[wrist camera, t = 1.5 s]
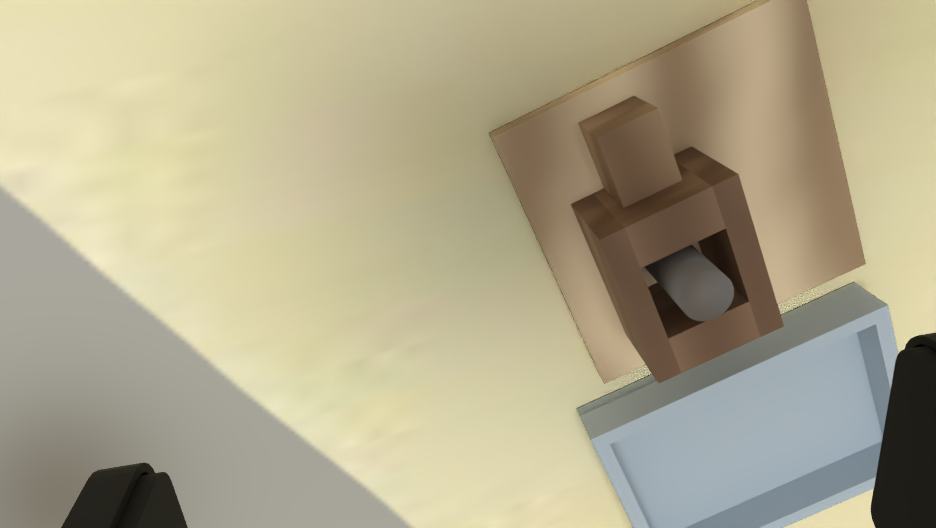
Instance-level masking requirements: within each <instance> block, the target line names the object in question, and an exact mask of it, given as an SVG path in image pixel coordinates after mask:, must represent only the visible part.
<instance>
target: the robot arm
mask: <svg viewBox="0 0 936 528" xmlns="http://www.w3.org/2000/svg"><path fill="white" fill-rule="evenodd" d="M871 515H872V519H873V522H874V525H875V527H876V528H936V333H931V334H925V335H919V336H916V337H913V338H911V339H910V340H909V341H908V343H907V344H906V347H905V350H902V351H900V353H899V354H898V355H897V358H896V361H895V367H894V373H893V379H892V385H891V390H890V396H889V402H888V408H887V414H886V420H885V426H884V432H883V438H882V444H881V450H880V455H879V461H878V467H877V473H876V479H875V485H874V491H873V497H872V503H871ZM61 528H187V525H186V522H185V519H184V516H183V513H182V510H181V507H180V505H179V502H178V499H177V496H176V493H175V490H174V487H173V485H172V482H171V479H170V477H169V476H168V474H167V473H165V472H160V473H155V472H154V470H153V468H152V467H151V466H150V465H149V464H147V463H139V464H133V465H127V466H121V467H114V468H108V469H102V470H98V471H96V472H94V473H92V475H91V476H90V477H89V479H88V480H87V482H86V484H85V486H84V488H83V489H82V491H81V493H80V495H79V497H78V498H77V500H76V502H75V504H74V506H73V507H72V509H71V511H70V513H69V515H68V517H67V518H66V520H65V522H64V524H63V526H62V527H61Z"/></svg>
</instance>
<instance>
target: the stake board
mask: <svg viewBox="0 0 936 528" xmlns="http://www.w3.org/2000/svg"><path fill="white" fill-rule="evenodd" d="M632 96H636V97H638V98H640V99H642V100H643V101H645V102H647V103H649V104H651V105H653V106H655V107H657V108H658V110H659V113H660V116H661V118H662V121H663V124H664V127H665V130H666V133H667V136H668V139H669V142H670V145H671V148H672V151H673V154H676V153H678V152H680V151H683V150H685V149H687V148H689V147H691V146H692V147H694V148H695V149H697V150H699V151H701V152H702V153H704V154H706V155H707V156H709V157H711V158H712V159H714V160H716V161H717V162H719V163H721V164H723V165H724V166H726V167H728V168H729V169H731V170H733V171H734V172H736V173H738V174H739V177H740V181H741V184H742V187H743V191H744V194H745V197H746V201H747V204H748V207H749V211H750V214H751V217H752V221H753V224H754V227H755V231H756V234H757V238H758V241H759V244H760V248H761V251H762V254H763V258H764V261H765V264H766V268H767V271H768V274H769V278H770V281H771V284H772V288H773V291H774V295H775V298H776V301H777V304H779V303H781V302H783V301H786V300H788V299H790V298H792V297H794V296H797V295H799V294H801V293H803V292H805V291H807V290H810V289H812V288H814V287H816V286H818V285H821V284H823V283H825V282H827V281H829V280H831V279H834V278H836V277H838V276H840V275H842V274H844V273H847V272H849V271H851V270H853V269H855V268H858V267H860V266H862V265H864V264H866V263H865V259H864V254H863V250H862V245H861V241H860V236H859V232H858V227H857V223H856V219H855V214H854V210H853V205H852V201H851V196H850V192H849V187H848V183H847V178H846V174H845V169H844V165H843V161H842V156H841V152H840V147H839V143H838V138H837V134H836V129H835V125H834V120H833V116H832V112H831V107H830V103H829V98H828V94H827V89H826V85H825V80H824V76H823V71H822V67H821V63H820V58H819V54H818V49H817V45H816V40H815V36H814V31H813V27H812V22H811V18H810V14H809V9H808V5H807V0H758V1H756V2H754V3H752V4H750V5H748V6H746V7H744V8H742V9H740V10H738V11H736V12H734V13H732V14H730V15H728V16H726V17H724V18H722V19H720V20H718V21H716V22H714V23H712V24H709V25H707V26H705V27H703V28H701V29H699V30H697V31H695V32H693V33H691V34H689V35H687V36H685V37H683V38H681V39H679V40H677V41H675V42H673V43H671V44H669V45H667V46H665V47H663V48H661V49H659V50H657V51H655V52H653V53H651V54H649V55H646V56H644V57H642V58H640V59H638V60H636V61H634V62H632V63H630V64H628V65H626V66H624V67H622V68H620V69H618V70H616V71H614V72H612V73H610V74H608V75H606V76H604V77H602V78H600V79H598V80H596V81H594V82H592V83H590V84H588V85H586V86H583V87H581V88H579V89H577V90H575V91H573V92H571V93H569V94H567V95H565V96H563V97H561V98H559V99H557V100H555V101H553V102H551V103H549V104H547V105H545V106H543V107H541V108H539V109H537V110H535V111H533V112H531V113H529V114H527V115H525V116H523V117H520V118H518V119H516V120H514V121H512V122H510V123H508V124H506V125H504V126H502V127H500V128H498V129H496V130H494V131H492V132H490V133H489V134H490V136H491V139H492V141H493V143H494V145H495V147H496V150H497V152H498V154H499V156H500V158H501V160H502V163H503V165H504V167H505V169H506V171H507V174H508V176H509V178H510V180H511V182H512V184H513V187H514V189H515V191H516V193H517V195H518V198H519V200H520V202H521V204H522V206H523V209H524V211H525V213H526V215H527V217H528V219H529V222H530V224H531V226H532V228H533V230H534V233H535V235H536V237H537V239H538V241H539V243H540V246H541V248H542V250H543V252H544V254H545V257H546V259H547V261H548V263H549V265H550V267H551V270H552V272H553V274H554V276H555V278H556V281H557V283H558V285H559V287H560V289H561V291H562V294H563V296H564V298H565V300H566V302H567V305H568V307H569V309H570V311H571V313H572V316H573V318H574V320H575V322H576V324H577V326H578V329H579V331H580V333H581V335H582V337H583V340H584V342H585V344H586V346H587V348H588V350H589V353H590V355H591V357H592V359H593V361H594V364H595V366H596V368H597V370H598V372H599V374H600V376H601V378H602V380H603V382H604V384H605V383H607V382H609V381H611V380H614V379H616V378H618V377H620V376H622V375H624V374H627V373H629V372H631V371H633V370H635V369H637V368H640V367H642V366H644V365H646V364H645V362H644V361H643V359H642V358H641V356H640V355H639V353H638V352H637V350H636V349H635V347H634V346H633V344H632V343H631V341H630V340H629V338H628V337H627V335H626V334H625V331H624V329H623V327H622V324H621V322H620V320H619V317H618V315H617V312H616V310H615V308H614V305H613V303H612V301H611V298H610V296H609V294H608V291H607V289H606V286H605V284H604V282H603V279H602V277H601V275H600V272H599V270H598V268H597V265H596V263H595V260H594V258H593V256H592V253H591V251H590V249H589V246H588V244H587V242H586V239H585V237H584V234H583V232H582V230H581V227H580V225H579V223H578V220H577V218H576V216H575V213H574V211H573V208H572V206H571V204H572V203H574V202H576V201H578V200H580V199H583V198H585V197H587V196H589V195H591V194H593V193H595V192H597V191H599V190H601V189H603V188H604V187H603V185H602V182H601V179H600V177H599V174H598V172H597V169H596V167H595V164H594V162H593V159H592V157H591V154H590V152H589V149H588V147H587V144H586V142H585V139H584V136H583V134H582V131H581V129H580V126H579V124H578V123H579V122H581V121H583V120H585V119H587V118H589V117H591V116H593V115H596V114H598V113H600V112H602V111H604V110H606V109H608V108H610V107H612V106H614V105H616V104H618V103H620V102H622V101H624V100H626V99H628V98H630V97H632ZM641 271H642V273H643V276H644V278H645V281H646V283H647V286H648V287H649V286H651V285H653V284H655V283H657V282H658V283H659V284H660V285H661V287H662V288H663V289H664V290H665V291H666V292H667V293H668V295H669V296H670V297H671V298H672V299H673V300H674V301H675V303H676V304H677V305H678V306H679V307H680V308H681V309H682V311H683V312H684V313H685V314H686V315H687V316H688V317H689V318H691V319H693V320H696V321H709V320H712V319H715V318H717V317H719V316H720V315H722V314H723V313H724V312H725V311H726V310H727V309H728V307H729V306H730V304H731V302H732V300H733V297H734V287H733V284H732V282H731V280H730V279H729V278H728V277H727V276H726V275H725V274H724V273H723V272H721V271H720V270H719V269H718V268H717V267H716V266H715V265H714V264H713V263H711V262H710V261H709V260H708V259H707V258H706V257H705V256H704V255H703V254H702V252H701V249H700V246H699V243H698V242H696V243H694V244H692V245H689V246H687V247H685V248H683V249H681V250H679V251H677V252H675V253H672V254H670V255H668V256H666V257H664V258H662V259H660V260H657V261H655V262H653V263H651V264H649V265H647V266H645V267H643V268H641Z"/></svg>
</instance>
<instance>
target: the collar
mask: <svg viewBox="0 0 936 528" xmlns="http://www.w3.org/2000/svg"><path fill="white" fill-rule="evenodd" d="M578 124H579V126H580V129H581V131H582V134H583V136H584V139H585V142H586V144H587V147H588V149H589V152H590V154H591V157H592V159H593V162H594V164H595V167H596V169H597V172H598V174H599V177H600V179H601V182H602V185H603V187H604V188H603V189H601V190H599V191H597V192H595V193H593V194H591V195H589V196H587V197H585V198H583V199H580V200H578V201H576V202H574V203H572V204H571V206H572V208H573V211H574V213H575V216H576V218H577V220H578V223H579V225H580V227H581V230H582V232H583V234H584V237H585V239H586V242H587V244H588V246H589V249H590V251H591V253H592V256H593V258H594V260H595V263H596V265H597V268H598V270H599V272H600V275H601V277H602V279H603V282H604V284H605V286H606V289H607V291H608V294H609V296H610V298H611V301H612V303H613V305H614V308H615V310H616V312H617V315H618V317H619V320H620V322H621V324H622V327H623V329H624V331H625V334H626V335H627V337H628V338H629V340H630V341H631V343H632V344H633V346H634V347H635V349H636V350H637V352H638V353H639V355H640V356H641V358H642V359H643V361H644V362H645V364H646V365H647V367H648V368H649V370H650V371H651V373H652V374H653V376H654V377H655V379H656V380H657V382H658V383H661V382H663V381H666V380H668V379H670V378H672V377H674V376H677V375H679V374H681V373H683V372H685V371H687V370H690V369H692V368H694V367H696V366H698V365H701V364H703V363H705V362H707V361H709V360H712V359H714V358H716V357H718V356H720V355H723V354H725V353H727V352H729V351H731V350H733V349H736V348H738V347H740V346H742V345H744V344H747V343H749V342H751V341H753V340H755V339H758V338H760V337H762V336H764V335H766V334H769V333H771V332H773V331H775V330H777V329H780V328H782V327H784V325H783V321H782V318H781V315H780V311H779V308H778V305H777V301H776V298H775V295H774V291H773V288H772V284H771V281H770V278H769V274H768V271H767V268H766V264H765V261H764V258H763V254H762V251H761V248H760V244H759V241H758V238H757V234H756V231H755V227H754V224H753V221H752V217H751V214H750V211H749V207H748V204H747V201H746V197H745V194H744V191H743V187H742V184H741V181H740V177H739V174H738V173H736V172H734V171H733V170H731V169H729V168H728V167H726V166H724V165H723V164H721V163H719V162H717V161H716V160H714V159H712V158H711V157H709V156H707V155H706V154H704V153H702V152H701V151H699V150H697V149H695V148H694V147H692V146H691V147H689V148H687V149H685V150H683V151H680V152H678V153H676V154H673V151H672V148H671V145H670V142H669V139H668V136H667V133H666V130H665V127H664V124H663V121H662V118H661V116H660V113H659V110H658V108H657V107H655V106H653V105H651V104H649V103H647V102H645V101H643V100H642V99H640V98H638V97H636V96H632V97H630V98H628V99H626V100H624V101H622V102H620V103H618V104H616V105H614V106H612V107H610V108H608V109H606V110H604V111H602V112H600V113H598V114H596V115H593V116H591V117H589V118H587V119H585V120H583V121H581V122H579V123H578ZM696 242H698V243H699V246H700V249H701V252H702V254H703V255H704V256H705V257H706V258H707V259H708V260H709V261H710V262H711V263H713V264H714V265H715V266H716V267H717V268H718V269H719V270H720V271H721V272H723V273H724V274H725V275H726V276H727V277H728V278H729V279H730V280H731V282H732V284H733V287H734V297H733V300H732V302H731V304H730V306H729V307H728V309H727V310H726V311H725V312H724V313H723V314H722V315H720V316H719V317H717V318H715V319H712V320H709V321H696V320H693V319H691V318H689V317H688V316H687V315H686V314H685V313H684V312H683V311H682V309H681V308H680V307H679V306H678V305H677V304H676V303H675V301H674V300H673V299H672V298H671V297H670V296H669V295H668V293H667V292H666V291H665V290H664V289H663V288H662V287H661V285H660V284H659V283H658V282H657V283H655V284H653V285H651V286H649V287H648V286H647V283H646V281H645V278H644V276H643V273H642V271H641V268H643V267H645V266H647V265H649V264H651V263H653V262H655V261H657V260H660V259H662V258H664V257H666V256H668V255H670V254H672V253H675V252H677V251H679V250H681V249H683V248H685V247H687V246H689V245H692V244H694V243H696Z"/></svg>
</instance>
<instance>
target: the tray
mask: <svg viewBox="0 0 936 528" xmlns="http://www.w3.org/2000/svg"><path fill="white" fill-rule="evenodd" d="M781 318H782V321H783V325H784V327H782V328H780V329H777V330H775V331H773V332H771V333H769V334H766V335H764V336H762V337H760V338H758V339H755V340H753V341H751V342H749V343H747V344H744V345H742V346H740V347H738V348H736V349H733V350H731V351H729V352H727V353H725V354H723V355H720V356H718V357H716V358H714V359H712V360H709V361H707V362H705V363H703V364H701V365H698V366H696V367H694V368H692V369H690V370H687V371H685V372H683V373H681V374H679V375H677V376H674V377H672V378H670V379H668V380H666V381H663V382H661V383H658V382H657V380H656V379H655V377H654V376H653V374H652V375H649V376H647V377H645V378H643V379H641V380H639V381H636V382H634V383H632V384H630V385H628V386H625V387H623V388H621V389H619V390H617V391H614V392H612V393H610V394H608V395H606V396H604V397H601V398H599V399H597V400H595V401H593V402H590V403H588V404H586V405H584V406H582V407H580V408H577V411H578V413H579V415H580V417H581V420H582V422H583V424H584V426H585V428H586V431H587V433H588V435H589V437H590V440H591V442H592V444H593V446H594V448H595V450H596V452H597V454H598V456H599V458H600V460H601V462H602V464H603V466H604V468H605V470H606V472H607V474H608V476H609V478H610V480H611V482H612V484H613V486H614V489H615V491H616V493H617V495H618V497H619V499H620V501H621V503H622V505H623V507H624V509H625V511H626V513H627V515H628V517H629V519H630V521H631V523H632V525H633V527H634V528H784V527H786V526H788V525H791V524H793V523H795V522H797V521H800V520H802V519H804V518H807V517H809V516H811V515H814V514H816V513H818V512H820V511H823V510H825V509H827V508H830V507H832V506H834V505H836V504H839V503H841V502H843V501H846V500H848V499H850V498H853V497H855V496H857V495H859V494H862V493H864V492H866V491H869V490H871V489H873V488H874V485H875V479H876V473H877V467H878V461H879V455H880V450H881V444H882V438H883V432H884V426H885V420H886V414H887V408H888V402H889V396H890V390H891V385H892V379H893V373H894V367H895V361H896V358H897V355H898V349H897V345H896V340H895V336H894V331H893V326H892V322H891V317H890V312H889V308H888V305H887V304H886V303H884V302H883V301H881V300H880V299H878V298H877V297H875V296H874V295H872V294H871V293H869V292H868V291H866V290H865V289H863V288H862V287H861V286H859V285H858V284H856V283H855V282H853V283H850V284H848V285H846V286H844V287H842V288H840V289H837V290H835V291H833V292H831V293H829V294H826V295H824V296H822V297H820V298H818V299H816V300H813V301H811V302H809V303H807V304H805V305H802V306H800V307H798V308H796V309H794V310H791V311H789V312H787V313H785V314H783V315H781Z"/></svg>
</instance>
